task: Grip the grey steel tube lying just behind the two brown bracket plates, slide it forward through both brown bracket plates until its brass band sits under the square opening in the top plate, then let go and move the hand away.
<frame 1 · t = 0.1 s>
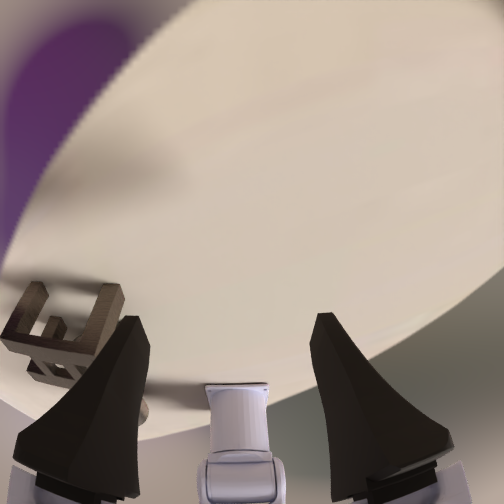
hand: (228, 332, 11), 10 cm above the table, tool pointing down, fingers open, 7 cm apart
brown bracket plates: (82, 308, 24), on the table
air tube: (112, 387, 29), point 3 cm above the table, slide at 0.0 cm
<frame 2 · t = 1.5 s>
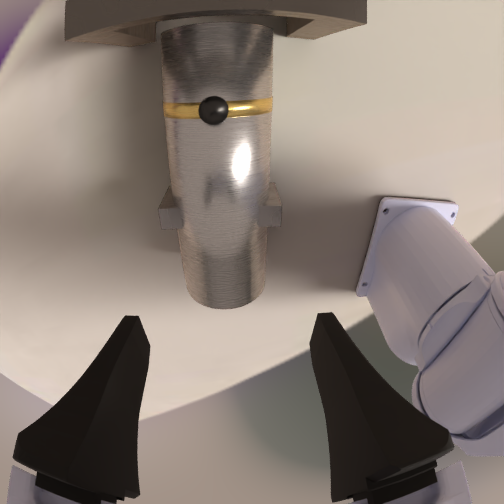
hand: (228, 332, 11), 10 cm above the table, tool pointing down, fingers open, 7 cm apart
air tube: (219, 172, 15), point 3 cm above the table, slide at 0.0 cm
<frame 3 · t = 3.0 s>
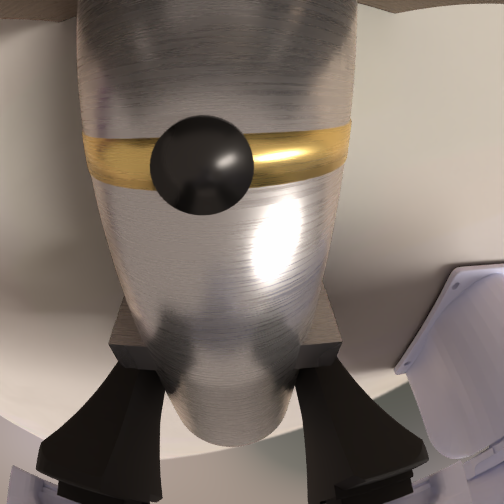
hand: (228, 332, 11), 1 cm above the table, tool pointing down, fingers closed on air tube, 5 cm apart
air tube: (221, 270, 8), point 3 cm above the table, slide at 0.0 cm, touching gripper
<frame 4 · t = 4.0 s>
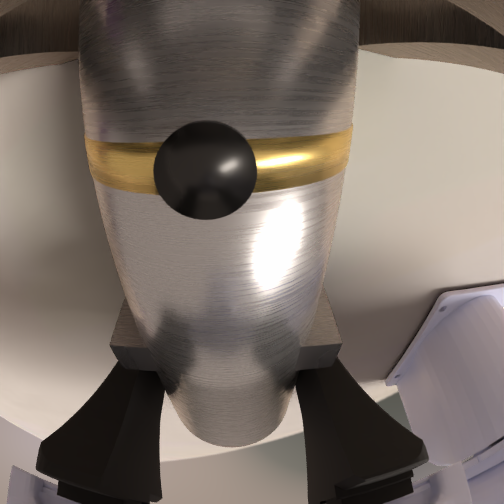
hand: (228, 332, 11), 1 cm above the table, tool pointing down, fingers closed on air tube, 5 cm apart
air tube: (222, 272, 8), point 3 cm above the table, slide at 1.6 cm, touching gripper
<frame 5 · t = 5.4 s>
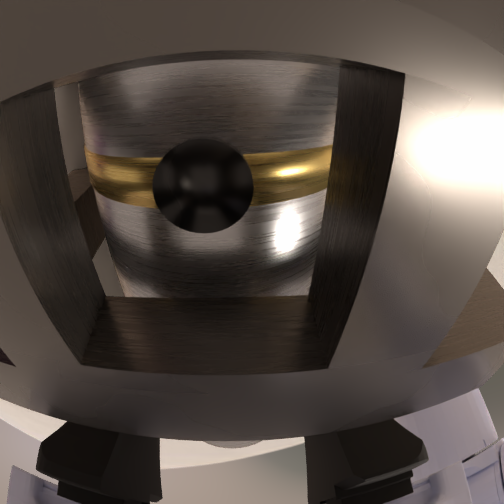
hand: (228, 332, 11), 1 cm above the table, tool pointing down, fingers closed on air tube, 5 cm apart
brown bracket plates: (221, 107, 8), on the table
air tube: (221, 277, 8), point 3 cm above the table, slide at 7.0 cm, touching gripper
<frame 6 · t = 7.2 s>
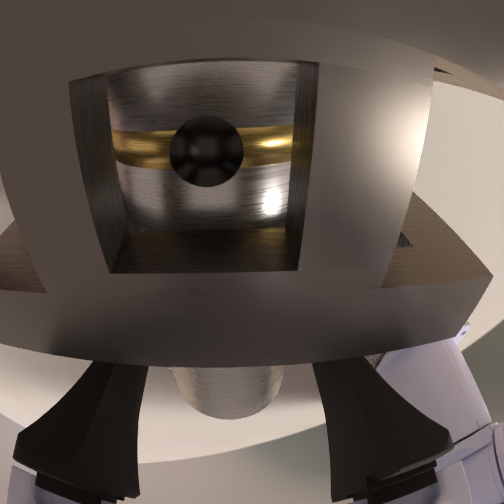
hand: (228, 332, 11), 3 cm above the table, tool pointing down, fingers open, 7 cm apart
brown bracket plates: (220, 100, 9), on the table
air tube: (219, 246, 9), point 3 cm above the table, slide at 7.0 cm
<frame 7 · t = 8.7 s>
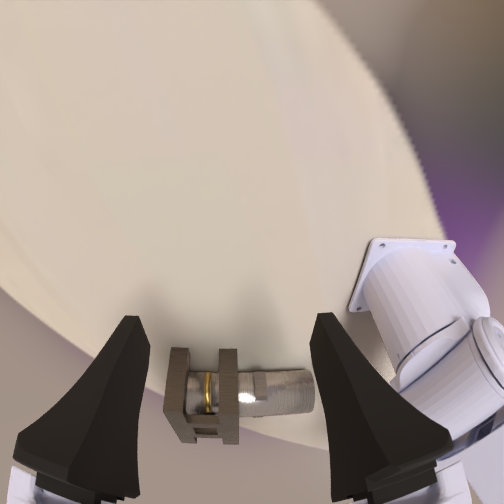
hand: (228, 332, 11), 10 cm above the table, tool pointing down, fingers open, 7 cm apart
brown bracket plates: (207, 373, 31), on the table
air tube: (242, 395, 29), point 3 cm above the table, slide at 7.0 cm
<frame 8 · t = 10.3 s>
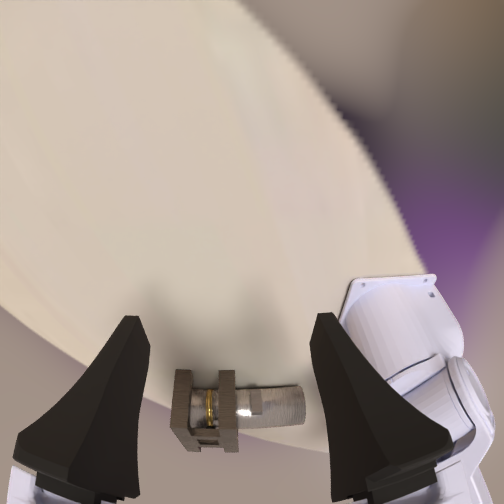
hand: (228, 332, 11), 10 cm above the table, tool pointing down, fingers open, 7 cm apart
brown bracket plates: (209, 390, 34), on the table
air tube: (241, 409, 32), point 3 cm above the table, slide at 7.0 cm
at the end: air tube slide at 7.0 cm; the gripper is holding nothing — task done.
